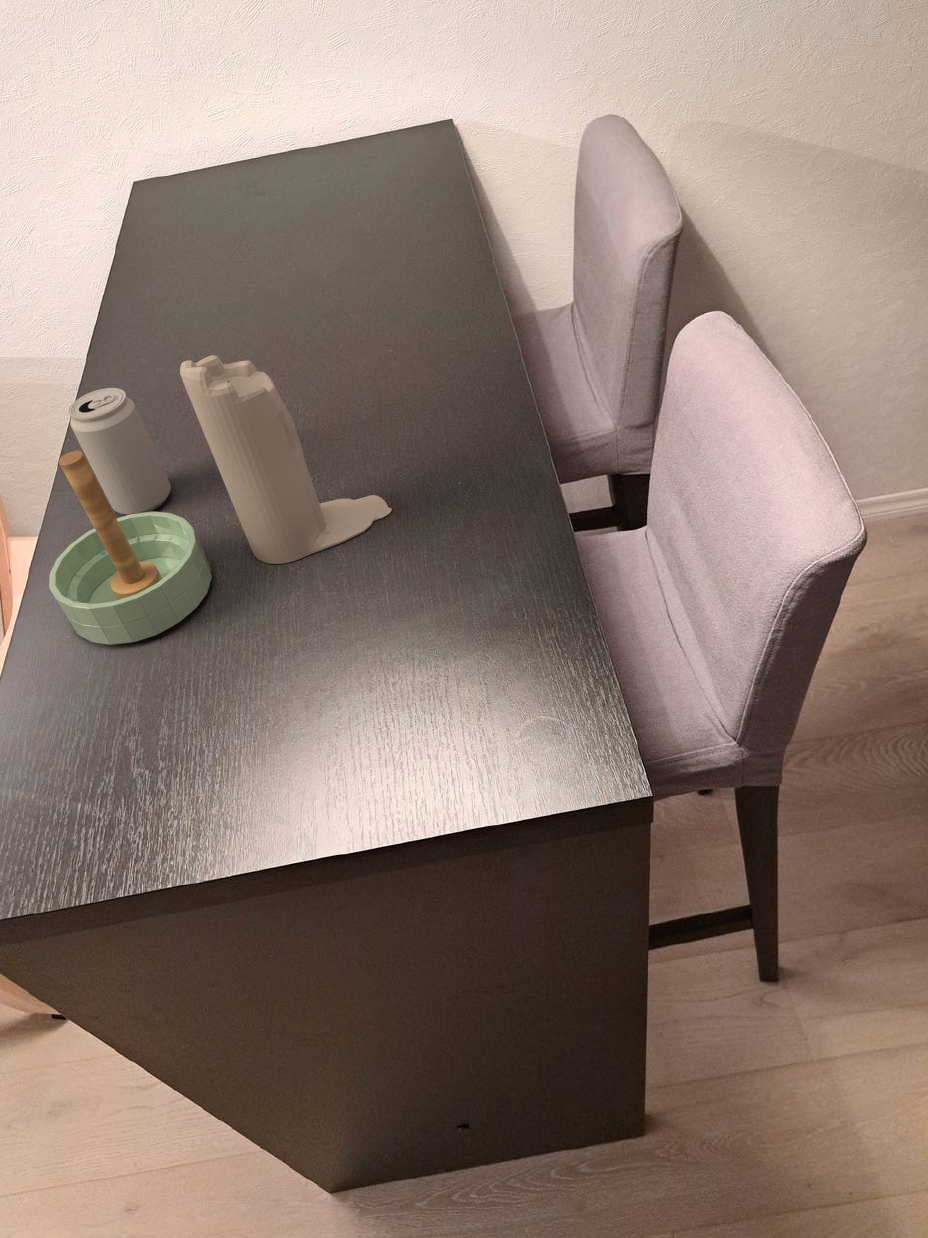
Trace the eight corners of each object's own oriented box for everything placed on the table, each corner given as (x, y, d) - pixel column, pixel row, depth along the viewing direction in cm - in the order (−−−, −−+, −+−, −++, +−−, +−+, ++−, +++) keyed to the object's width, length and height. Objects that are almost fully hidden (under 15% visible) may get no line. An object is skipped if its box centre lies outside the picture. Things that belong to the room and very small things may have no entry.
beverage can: (110, 497, 101) (60, 399, 93) (167, 476, 103) (123, 377, 95) (119, 527, 97) (67, 427, 89) (179, 504, 98) (133, 403, 90)
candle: (399, 521, 90) (348, 325, 76) (261, 574, 87) (183, 382, 74) (375, 484, 95) (323, 295, 81) (244, 533, 92) (168, 347, 79)
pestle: (149, 611, 85) (76, 474, 75) (109, 606, 86) (33, 471, 76) (174, 579, 88) (107, 443, 78) (135, 575, 89) (64, 441, 79)
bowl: (166, 657, 81) (144, 615, 78) (45, 640, 85) (18, 599, 82) (238, 558, 90) (220, 516, 86) (124, 547, 94) (103, 507, 91)
